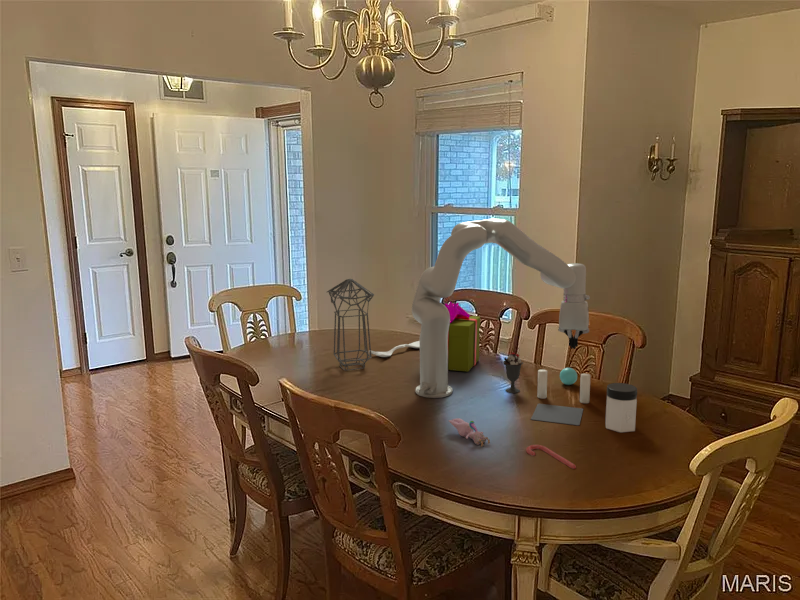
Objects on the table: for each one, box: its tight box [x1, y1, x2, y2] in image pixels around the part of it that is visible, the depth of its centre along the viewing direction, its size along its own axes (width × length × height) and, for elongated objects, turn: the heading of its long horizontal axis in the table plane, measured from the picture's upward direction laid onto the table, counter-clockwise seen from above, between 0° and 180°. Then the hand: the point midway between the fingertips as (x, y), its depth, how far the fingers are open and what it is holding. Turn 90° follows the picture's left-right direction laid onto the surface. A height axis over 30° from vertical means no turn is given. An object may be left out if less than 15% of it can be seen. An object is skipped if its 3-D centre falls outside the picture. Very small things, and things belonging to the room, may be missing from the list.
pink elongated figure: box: [448, 418, 491, 447], centre depth 168 cm, size 6×6×15 cm
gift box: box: [444, 301, 481, 372], centre depth 235 cm, size 21×21×25 cm
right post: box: [579, 373, 591, 404], centre depth 194 cm, size 3×3×9 cm
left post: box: [536, 369, 548, 400], centre depth 199 cm, size 3×3×9 cm
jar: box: [604, 382, 638, 434], centre depth 173 cm, size 9×8×12 cm
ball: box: [559, 367, 578, 386], centre depth 211 cm, size 6×6×6 cm
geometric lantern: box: [326, 278, 375, 372], centre depth 232 cm, size 16×16×35 cm
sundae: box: [502, 347, 524, 394], centre depth 205 cm, size 7×7×15 cm
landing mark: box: [530, 403, 584, 426], centre depth 185 cm, size 14×14×1 cm
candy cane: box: [525, 444, 577, 470], centre depth 155 cm, size 6×15×2 cm, turn 25°
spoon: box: [368, 340, 420, 358], centre depth 257 cm, size 9×32×4 cm, turn 133°
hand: (573, 347), depth 219 cm, fingers closed
